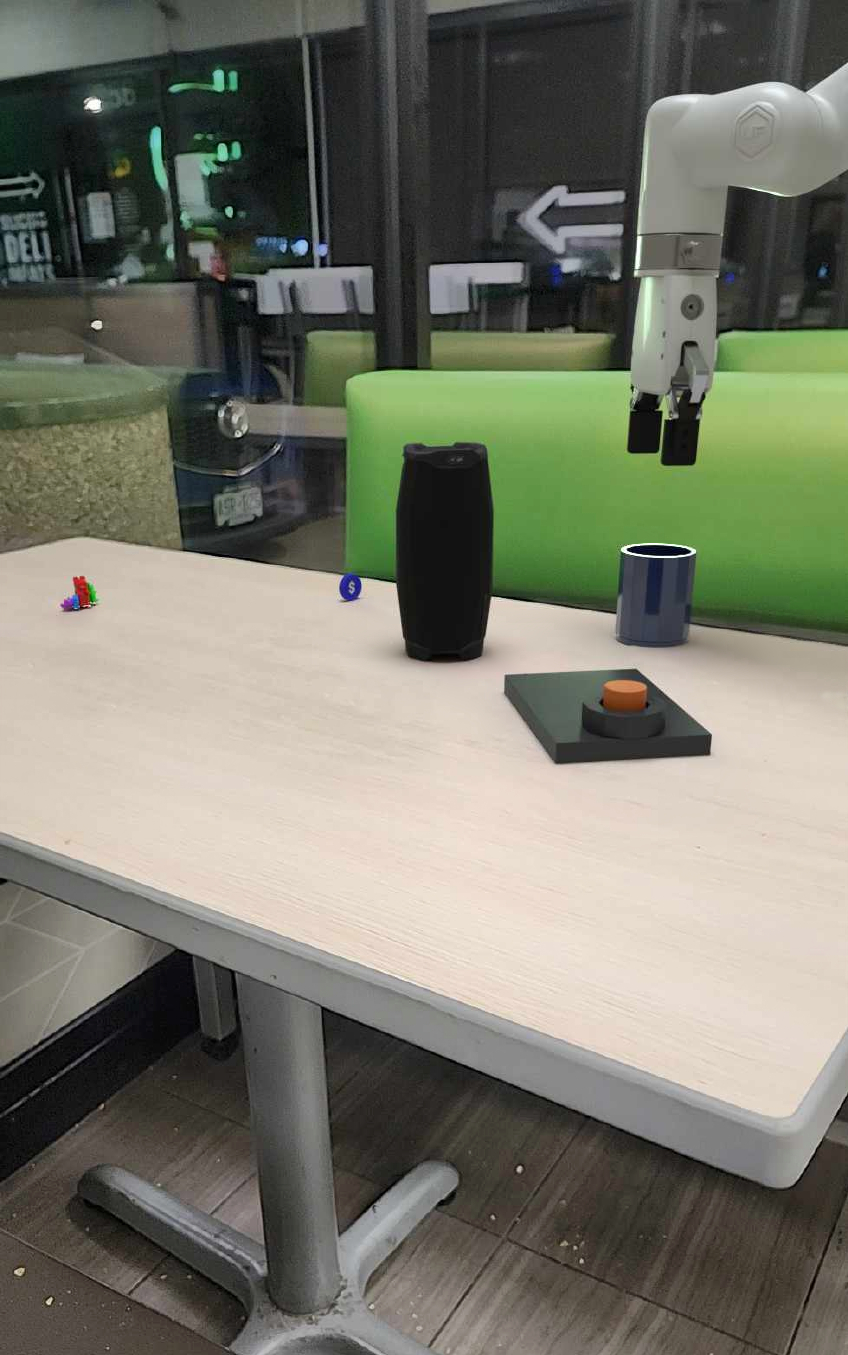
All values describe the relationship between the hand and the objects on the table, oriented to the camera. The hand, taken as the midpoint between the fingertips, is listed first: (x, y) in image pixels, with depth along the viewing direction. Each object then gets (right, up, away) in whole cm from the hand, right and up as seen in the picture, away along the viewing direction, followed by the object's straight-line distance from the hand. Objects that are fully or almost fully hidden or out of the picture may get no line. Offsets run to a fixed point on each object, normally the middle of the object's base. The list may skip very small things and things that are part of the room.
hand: (659, 459), depth 110 cm
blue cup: (+1, -16, +8) cm, 18 cm away
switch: (-7, -26, -23) cm, 35 cm away
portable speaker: (-21, -18, +4) cm, 28 cm away
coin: (-31, -9, +25) cm, 41 cm away
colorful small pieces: (-62, -10, +22) cm, 67 cm away
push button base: (-8, -27, -16) cm, 32 cm away
